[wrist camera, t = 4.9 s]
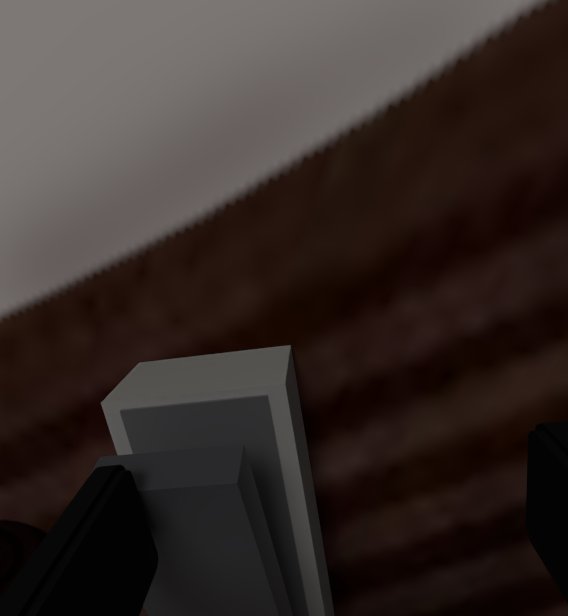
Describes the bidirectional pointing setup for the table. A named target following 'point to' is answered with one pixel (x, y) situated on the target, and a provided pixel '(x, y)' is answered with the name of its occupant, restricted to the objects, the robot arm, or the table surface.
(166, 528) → the outlet rocker
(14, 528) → the beer glass
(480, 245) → the table surface
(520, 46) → the table surface
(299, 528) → the power strip
